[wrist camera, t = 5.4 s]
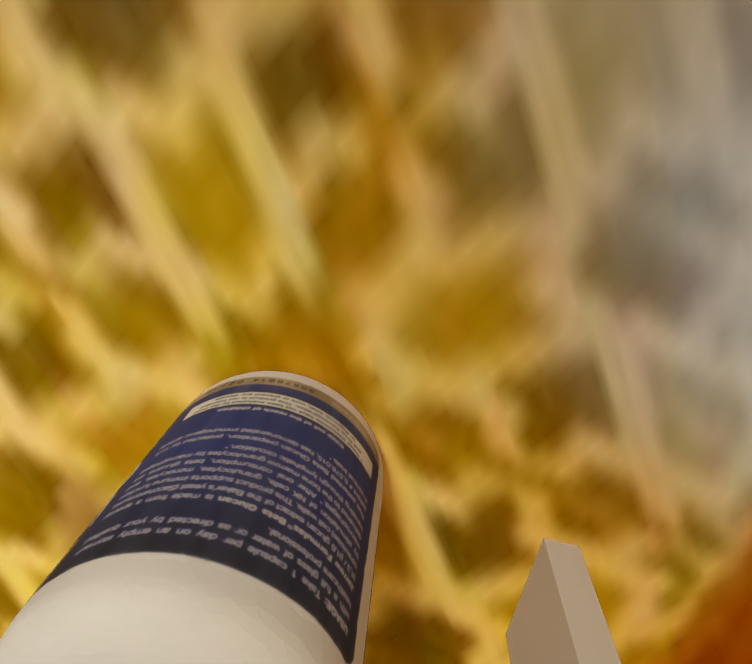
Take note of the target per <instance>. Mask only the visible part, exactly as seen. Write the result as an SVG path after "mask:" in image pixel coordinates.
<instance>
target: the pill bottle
mask: <svg viewBox="0 0 752 664" xmlns="http://www.w3.org/2000/svg"><path fill="white" fill-rule="evenodd" d="M383 480H384V471H383V462H382V457H381V453H380V449H379V446H378V444H377V441H376V439H375V437H374V434H373V432H372V431H371V429H370V427H369V425H368V424H367V422H366V421H365V420H364V418H363V417H362V415H361V414H360V413H359V412H358V411H357V410H356V408H355V407H354V406H353V405H352V404H351V403H350V402H348V401H347V400H346V399H345V398H344V397H343V396H341V395H340V394H339V393H337V392H336V391H334V390H333V389H331V388H329V387H328V386H326V385H324V384H322V383H320V382H318V381H316V380H313V379H311V378H308V377H305V376H301V375H297V374H293V373H288V372H279V371H257V372H249V373H245V374H240V375H236V376H233V377H230V378H228V379H225V380H223V381H221V382H219V383H217V384H215V385H213V386H211V387H210V388H208V389H207V390H205V391H204V392H203V393H201V394H200V395H199V396H198V397H197V398H196V399H194V400H193V401H192V402H191V403H190V404H189V406H188V407H187V408H186V409H185V410H184V411H183V412H182V413H181V414H180V415H179V417H178V418H177V419H176V420H175V421H174V423H173V424H172V425H171V426H170V427H169V429H168V430H167V431H166V432H165V434H164V435H163V436H162V437H161V439H160V440H159V441H158V442H157V444H156V445H155V446H154V447H153V448H152V450H151V451H150V452H149V453H148V455H147V456H146V457H145V458H144V459H143V461H142V462H141V463H140V464H139V466H138V467H137V468H136V469H135V470H134V472H133V473H132V474H131V475H130V476H129V478H128V479H127V480H126V481H125V482H124V483H123V485H122V486H121V487H120V489H119V490H118V491H117V492H116V494H115V495H114V496H113V497H112V498H111V500H110V501H109V502H108V504H107V505H106V506H105V507H104V508H103V510H102V511H101V512H100V513H99V514H98V516H97V517H96V518H95V519H94V520H93V522H92V523H91V524H90V525H89V526H88V528H87V529H86V530H85V531H84V532H83V533H82V535H81V536H80V537H79V538H78V539H77V541H76V542H75V543H74V545H73V546H72V547H71V548H70V550H69V551H68V552H67V553H66V555H65V556H64V557H63V558H62V560H61V561H60V562H59V563H58V564H57V566H56V567H55V568H54V569H53V571H52V572H51V573H50V574H49V575H48V576H47V577H46V579H45V580H44V581H43V582H42V584H41V585H40V586H39V587H38V589H37V590H36V591H35V593H34V594H33V595H32V596H31V598H30V599H29V600H28V601H27V603H26V604H25V605H24V607H23V608H22V609H21V611H20V612H19V613H18V614H17V616H16V617H15V618H14V620H13V621H12V622H11V624H10V625H9V627H8V628H7V630H6V631H5V633H4V635H3V636H2V638H1V640H0V664H363V663H364V654H365V645H366V637H367V628H368V618H369V610H370V601H371V593H372V583H373V575H374V565H375V556H376V549H377V540H378V531H379V522H380V514H381V506H382V493H383Z"/></svg>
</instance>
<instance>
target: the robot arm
mask: <svg viewBox="0 0 752 664" xmlns="http://www.w3.org/2000/svg"><path fill="white" fill-rule="evenodd" d="M506 638H507V645H508V651H509V658H510V664H621V662H620V659H619V656H618V653H617V651H616V648H615V645H614V642H613V639H612V637H611V634H610V631H609V628H608V626H607V623H606V620H605V617H604V614H603V612H602V609H601V606H600V603H599V601H598V598H597V595H596V592H595V589H594V587H593V584H592V581H591V578H590V575H589V573H588V570H587V567H586V564H585V562H584V559H583V556H582V553H581V550H580V548H579V546H576V545H572V544H567V543H563V542H559V541H555V540H550V539H546V538H543V541H542V543H541V546H540V549H539V551H538V554H537V556H536V559H535V561H534V564H533V566H532V569H531V571H530V574H529V576H528V579H527V581H526V584H525V586H524V589H523V592H522V594H521V597H520V599H519V602H518V604H517V607H516V609H515V612H514V614H513V617H512V619H511V622H510V624H509V627H508V630H507V632H506Z"/></svg>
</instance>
